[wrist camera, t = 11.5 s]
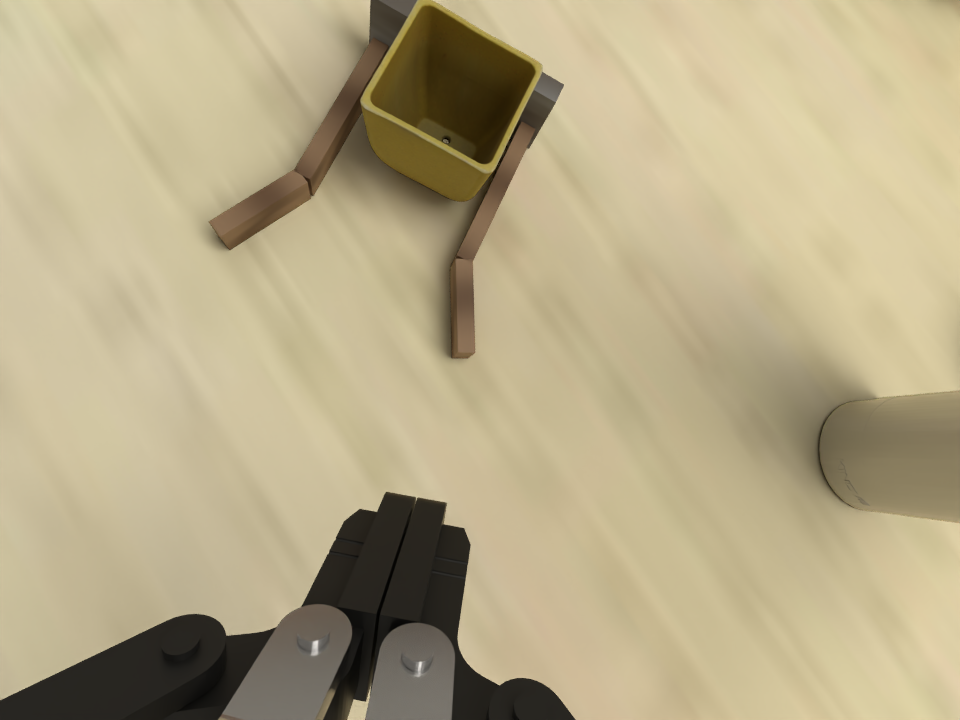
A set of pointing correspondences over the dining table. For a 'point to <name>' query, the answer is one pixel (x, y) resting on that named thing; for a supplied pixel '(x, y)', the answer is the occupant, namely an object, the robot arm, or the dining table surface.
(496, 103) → the flower pot
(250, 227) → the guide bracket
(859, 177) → the dining table surface
